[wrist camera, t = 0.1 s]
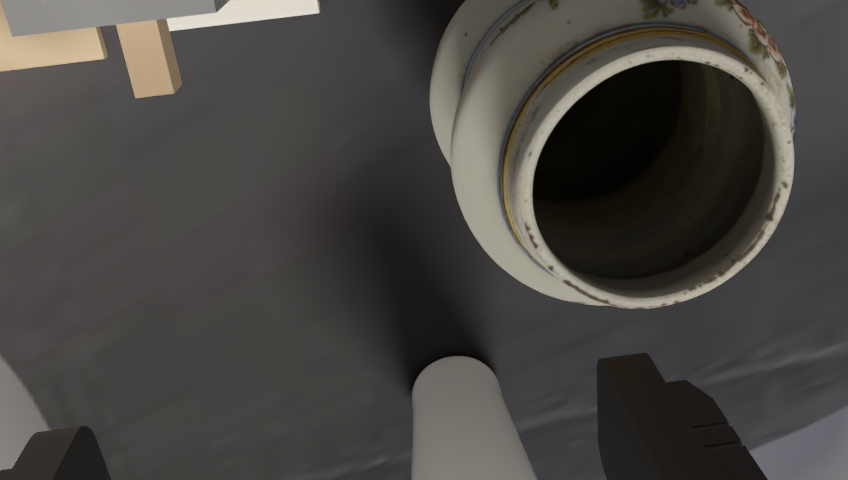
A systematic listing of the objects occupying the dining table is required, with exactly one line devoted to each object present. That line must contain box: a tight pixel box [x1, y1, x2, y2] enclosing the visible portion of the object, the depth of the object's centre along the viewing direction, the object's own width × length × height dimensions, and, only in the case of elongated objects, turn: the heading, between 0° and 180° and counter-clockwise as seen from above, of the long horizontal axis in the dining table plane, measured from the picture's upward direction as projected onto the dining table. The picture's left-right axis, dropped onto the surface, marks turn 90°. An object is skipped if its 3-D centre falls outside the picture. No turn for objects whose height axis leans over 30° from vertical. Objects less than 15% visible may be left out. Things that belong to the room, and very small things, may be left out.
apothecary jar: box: [430, 0, 796, 309], centre depth 31 cm, size 12×12×18 cm
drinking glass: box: [411, 356, 538, 480], centre depth 41 cm, size 7×7×15 cm
